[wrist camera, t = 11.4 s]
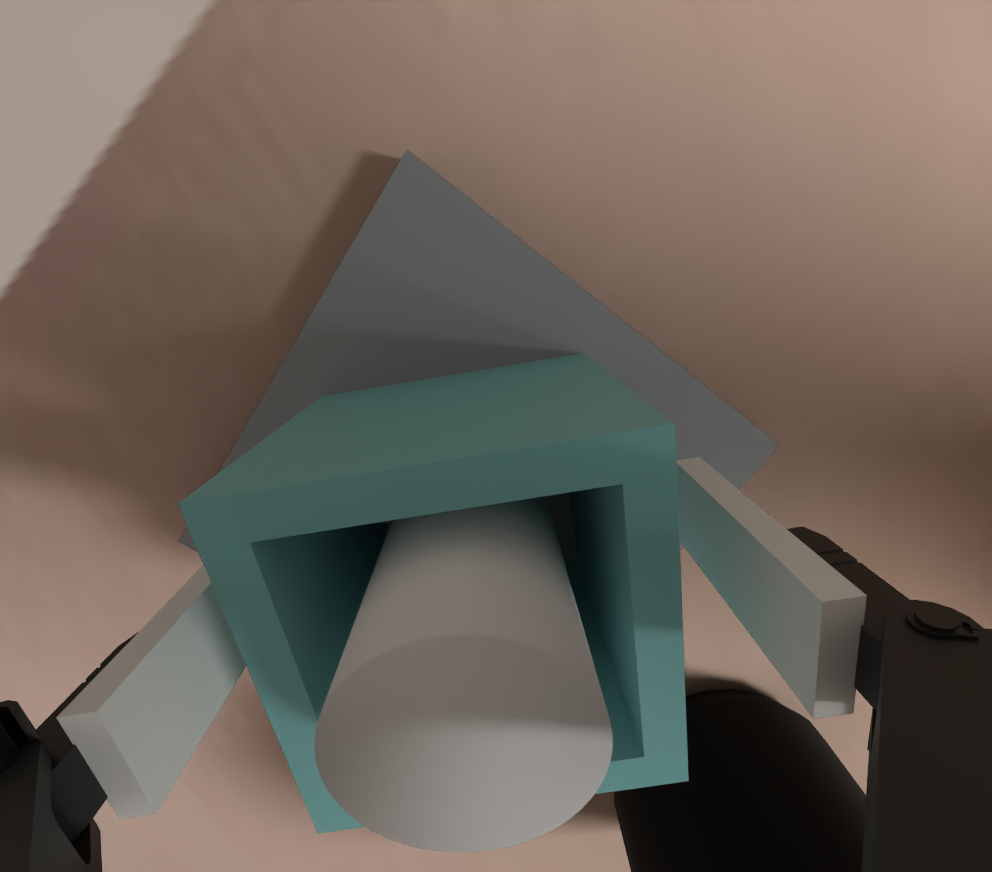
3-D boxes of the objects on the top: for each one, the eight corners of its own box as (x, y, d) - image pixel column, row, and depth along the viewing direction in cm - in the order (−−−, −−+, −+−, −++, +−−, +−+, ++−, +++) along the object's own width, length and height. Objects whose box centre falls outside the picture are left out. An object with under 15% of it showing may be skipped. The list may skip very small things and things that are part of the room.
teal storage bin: (582, 353, 16) (674, 423, 8) (604, 576, 19) (688, 780, 11) (321, 396, 16) (178, 503, 8) (383, 610, 19) (317, 833, 11)
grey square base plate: (757, 432, 18) (1151, 655, 8) (516, 691, 22) (548, 1083, 12) (413, 161, 15) (240, -136, 4) (200, 521, 19) (-173, 846, 8)
